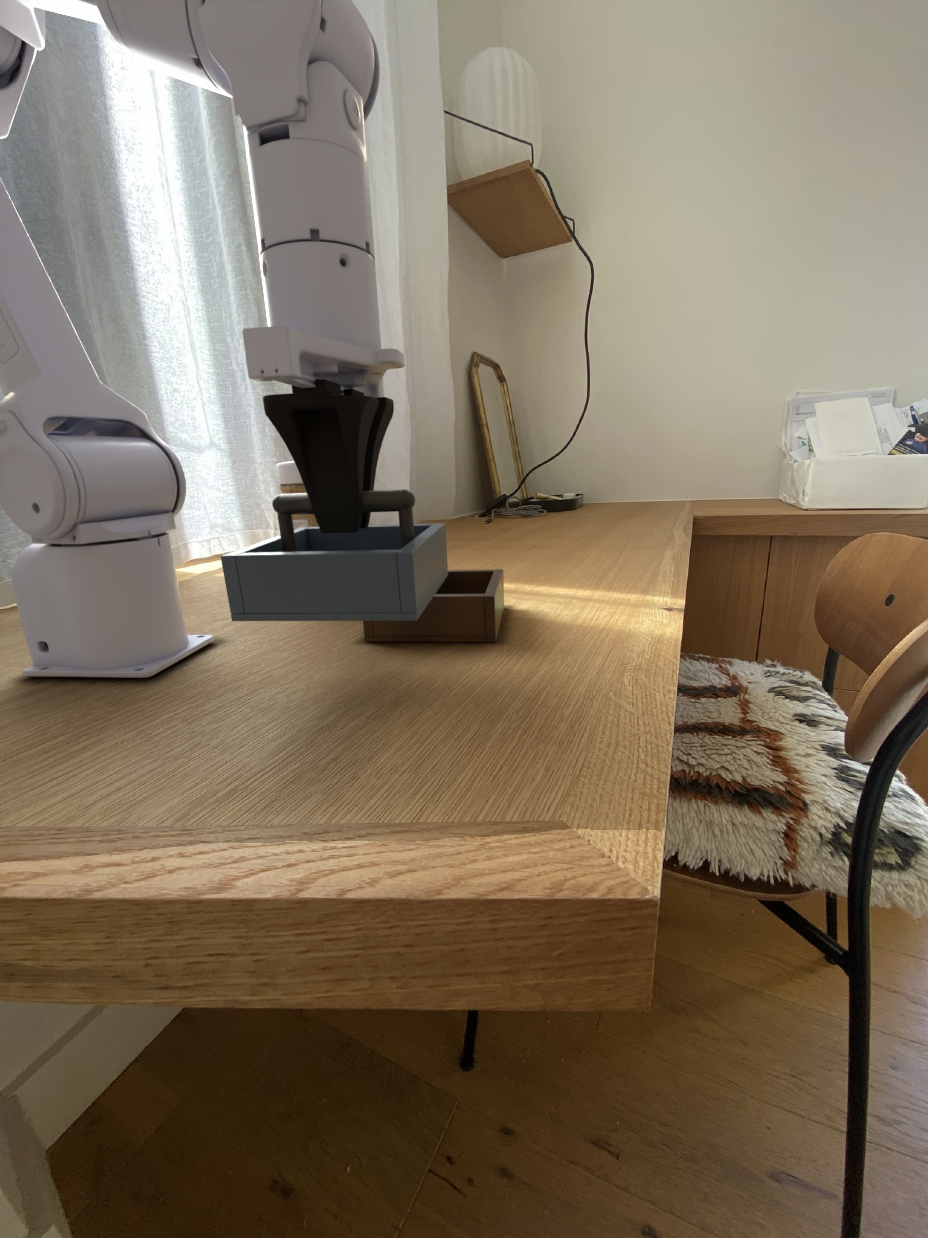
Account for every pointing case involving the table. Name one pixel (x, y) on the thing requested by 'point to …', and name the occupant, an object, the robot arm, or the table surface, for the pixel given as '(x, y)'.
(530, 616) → the table surface
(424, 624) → the bottom basket
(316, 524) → the sprinkles bottle
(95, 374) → the robot arm
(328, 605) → the blue-gray basket with handle
